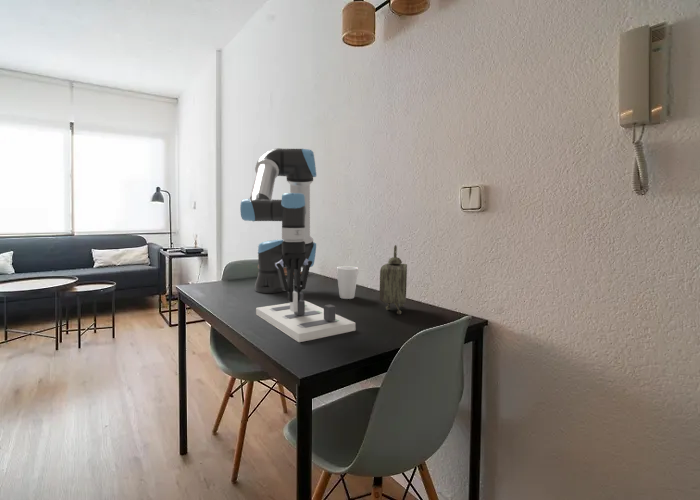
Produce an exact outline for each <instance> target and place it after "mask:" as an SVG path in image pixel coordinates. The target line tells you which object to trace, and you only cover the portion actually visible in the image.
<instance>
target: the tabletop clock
mask: <svg viewBox="0 0 700 500" xmlns="http://www.w3.org/2000/svg"><path fill="white" fill-rule="evenodd" d="M397 250H398V249H397V245H396V244H395V245H394V247H393V256H392V257H390V258H389V260H388V261H387V263H385V264H383V265H382V266H381V268H380V271H379V301H381V302H382V303H384V304H387V305H386V306H385V310H386V311H389V310H390V309H391V306H390V305H391V304H394V306H395V307H396V314H397V315H401V314H402V311H401V309H400V308H403V307H404V305H405V304H406V299H407V285H408V283H407V282H408V281H407V280H408V264H407V263H403V261H402V259H400V257H397V255H398V253H397V252H398V251H397ZM399 307H400V308H399Z"/></svg>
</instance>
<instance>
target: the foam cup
mask: <svg viewBox="0 0 700 500" xmlns="http://www.w3.org/2000/svg"><path fill="white" fill-rule="evenodd" d="M358 274H359V267H358V266H352V265H345V266H344V265H342V266H341V265H340V266H337V267H336V278H337V284H338V285H337V286H338V295H339V299H340V298H341V299H344V300H348V299H349V300H351V299H354V298H355V296H356V294H355V293H356V288H357V281H358Z"/></svg>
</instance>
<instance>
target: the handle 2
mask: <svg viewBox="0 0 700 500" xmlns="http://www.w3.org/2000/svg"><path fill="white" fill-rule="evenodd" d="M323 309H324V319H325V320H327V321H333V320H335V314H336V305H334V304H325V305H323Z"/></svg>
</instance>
